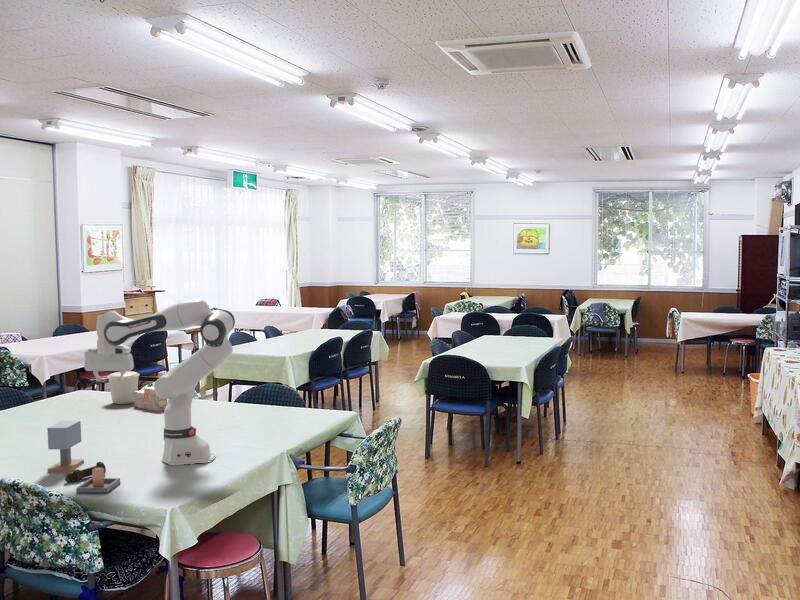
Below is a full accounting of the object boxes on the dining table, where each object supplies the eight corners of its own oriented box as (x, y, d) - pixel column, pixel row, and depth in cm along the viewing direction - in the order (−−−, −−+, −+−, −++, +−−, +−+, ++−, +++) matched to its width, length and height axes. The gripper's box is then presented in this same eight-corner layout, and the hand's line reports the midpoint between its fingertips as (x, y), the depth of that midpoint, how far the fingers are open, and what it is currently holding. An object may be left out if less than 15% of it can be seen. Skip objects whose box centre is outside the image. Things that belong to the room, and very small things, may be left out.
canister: (134, 398, 440) (133, 364, 439) (145, 402, 427) (144, 367, 425) (104, 402, 429) (102, 367, 427) (114, 407, 415) (112, 371, 413)
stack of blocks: (133, 407, 415) (133, 386, 414) (142, 405, 421) (142, 384, 420) (159, 411, 404) (158, 390, 403) (167, 409, 410) (167, 388, 409)
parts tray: (120, 483, 281) (120, 478, 281) (107, 493, 269) (106, 488, 269) (91, 483, 281) (90, 478, 281) (76, 493, 270) (76, 488, 270)
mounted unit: (83, 462, 308) (82, 420, 307) (69, 472, 296) (67, 428, 294) (62, 462, 309) (60, 420, 307) (46, 472, 296) (44, 428, 294)
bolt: (66, 487, 283) (102, 476, 294) (70, 483, 280) (107, 472, 291) (61, 473, 284) (97, 463, 296) (66, 469, 281) (102, 459, 292)
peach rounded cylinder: (106, 485, 277) (105, 467, 277) (101, 488, 273) (100, 470, 273) (95, 485, 277) (95, 467, 277) (91, 488, 274) (90, 470, 273)
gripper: (81, 350, 304) (82, 382, 305) (128, 350, 303) (129, 382, 304) (87, 348, 310) (89, 379, 311) (134, 348, 310) (135, 379, 311)
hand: (109, 381), depth 308 cm, fingers open, 8 cm apart
